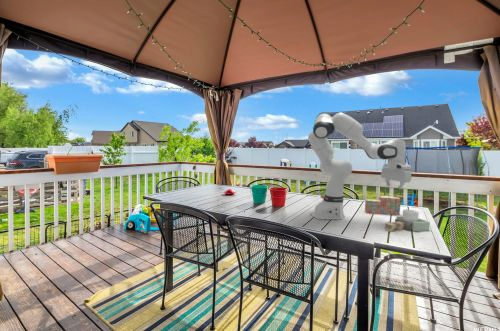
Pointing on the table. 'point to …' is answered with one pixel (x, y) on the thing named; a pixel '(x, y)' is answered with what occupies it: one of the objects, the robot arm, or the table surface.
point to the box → (418, 224)
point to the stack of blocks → (383, 205)
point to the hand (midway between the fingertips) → (394, 187)
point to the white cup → (410, 216)
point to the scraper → (398, 225)
